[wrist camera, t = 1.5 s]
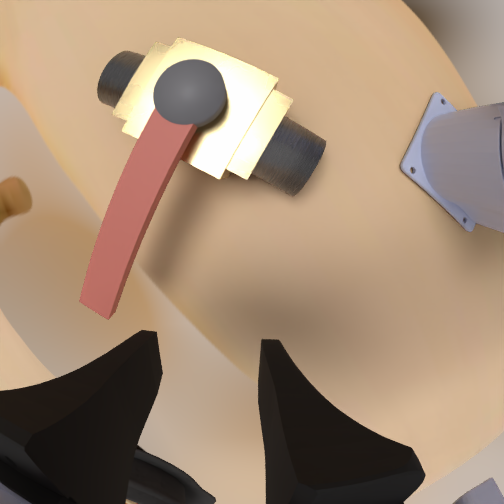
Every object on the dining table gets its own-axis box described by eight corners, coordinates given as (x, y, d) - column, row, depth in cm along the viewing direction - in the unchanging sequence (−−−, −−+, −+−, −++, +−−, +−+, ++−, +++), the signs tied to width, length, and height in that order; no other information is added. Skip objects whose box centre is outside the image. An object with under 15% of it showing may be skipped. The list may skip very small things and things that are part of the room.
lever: (239, 82, 11) (238, 74, 10) (124, 316, 14) (117, 325, 13) (181, 58, 11) (176, 50, 10) (80, 288, 14) (70, 296, 13)
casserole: (47, 429, 27) (26, 465, 19) (90, 392, 24) (58, 445, 16) (169, 505, 32) (163, 540, 24) (245, 487, 29) (245, 534, 21)
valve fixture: (323, 132, 17) (351, 117, 12) (280, 206, 19) (292, 220, 13) (149, 51, 16) (120, 18, 10) (109, 120, 17) (66, 107, 12)
